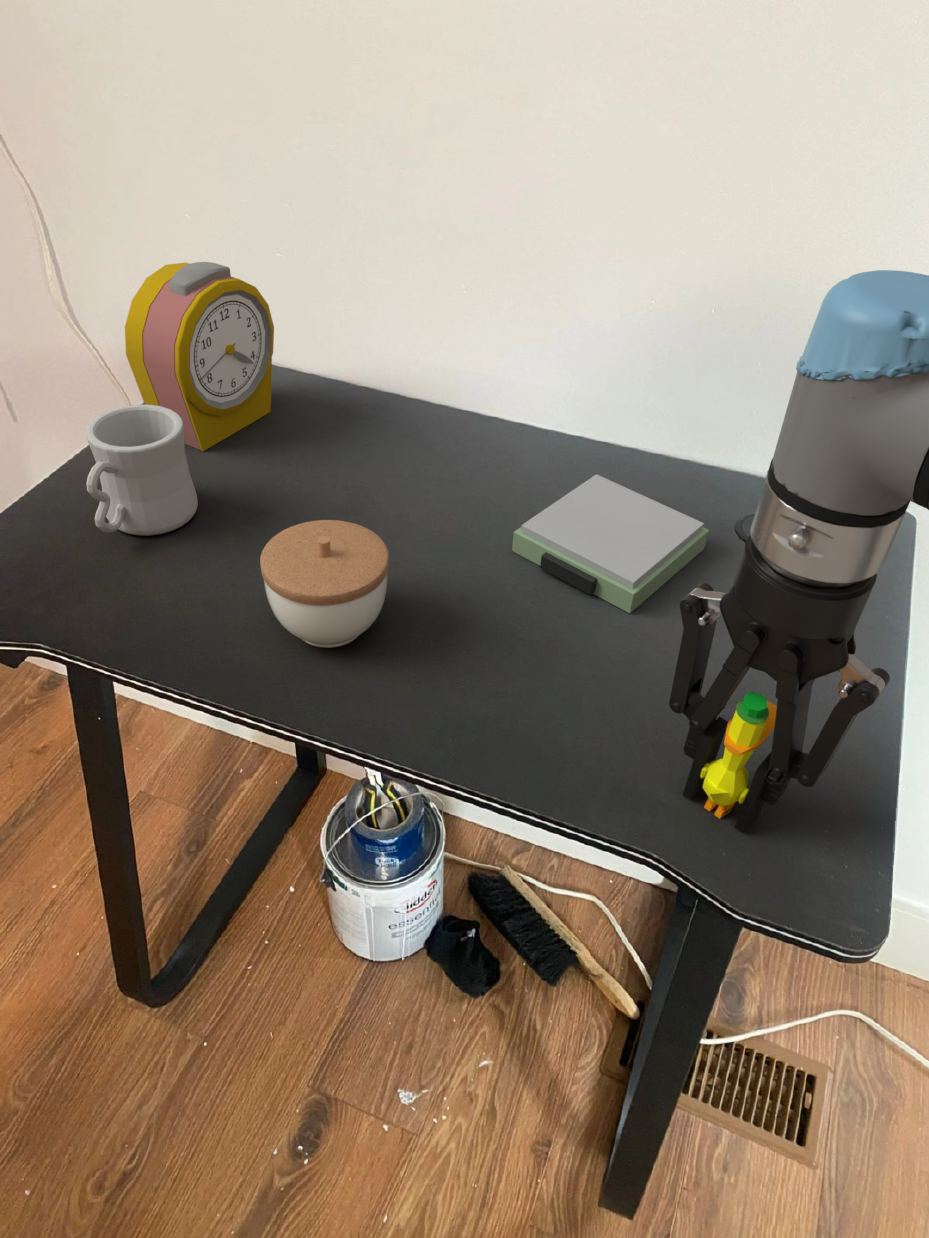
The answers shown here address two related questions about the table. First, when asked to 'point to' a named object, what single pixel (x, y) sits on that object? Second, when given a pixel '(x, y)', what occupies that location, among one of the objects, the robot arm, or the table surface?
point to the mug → (140, 470)
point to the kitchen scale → (611, 542)
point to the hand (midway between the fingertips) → (721, 802)
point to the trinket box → (325, 580)
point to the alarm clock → (202, 349)
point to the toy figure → (737, 753)
